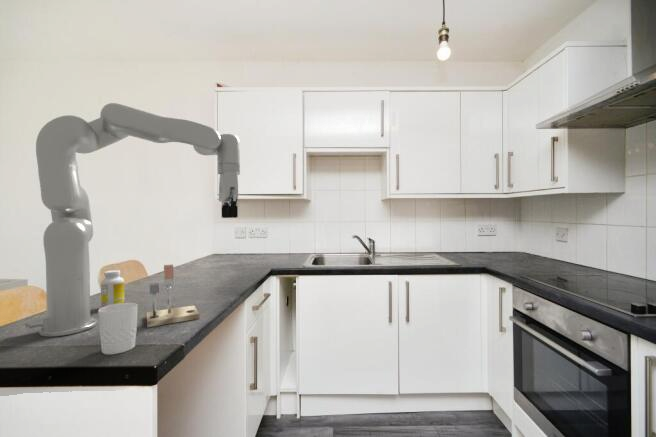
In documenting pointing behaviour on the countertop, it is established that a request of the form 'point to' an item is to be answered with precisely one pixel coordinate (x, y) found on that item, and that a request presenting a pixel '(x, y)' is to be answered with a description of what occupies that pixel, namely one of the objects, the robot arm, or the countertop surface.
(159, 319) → the hole plate
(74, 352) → the countertop surface
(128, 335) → the white cup
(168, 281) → the slider block
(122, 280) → the supplement bottle
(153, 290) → the divider frame
